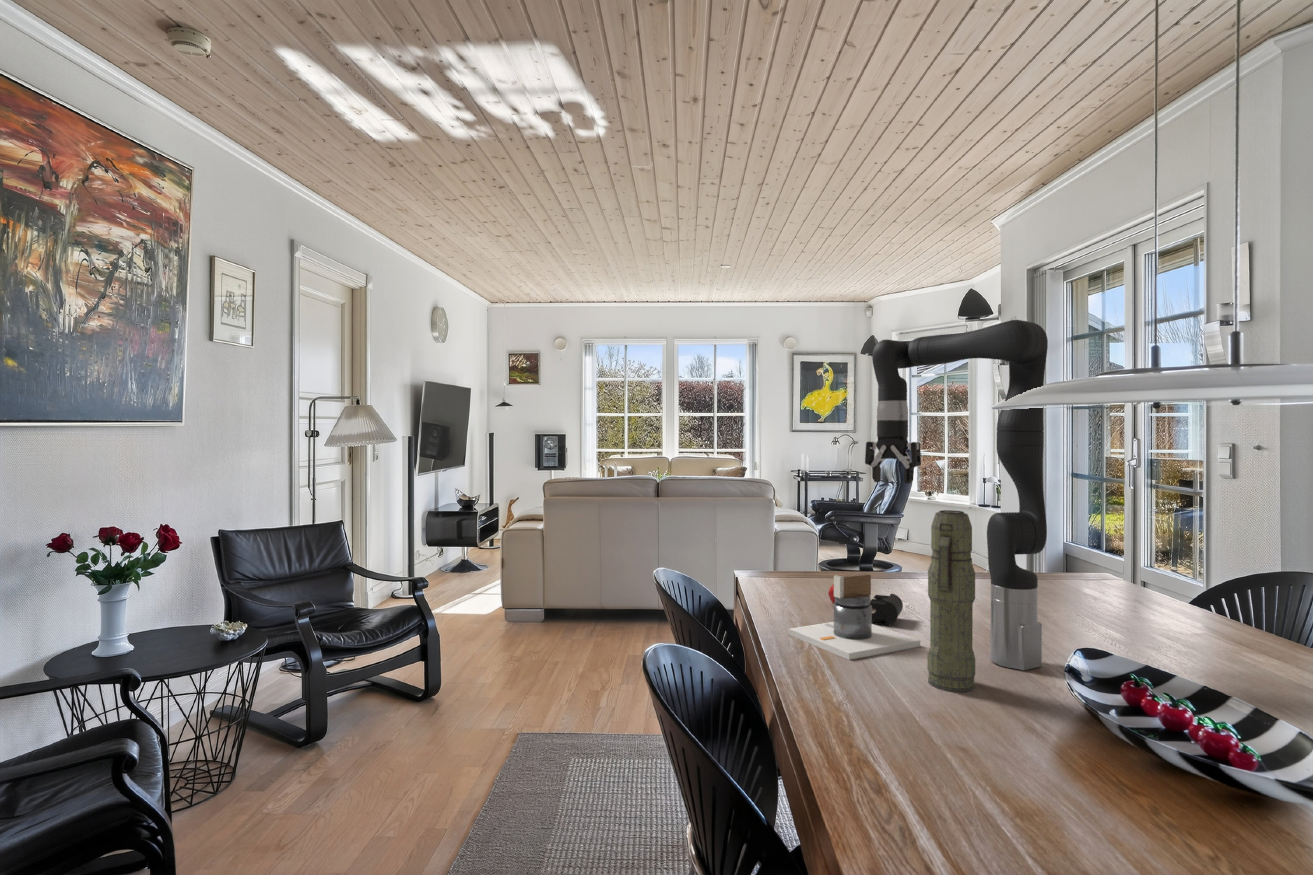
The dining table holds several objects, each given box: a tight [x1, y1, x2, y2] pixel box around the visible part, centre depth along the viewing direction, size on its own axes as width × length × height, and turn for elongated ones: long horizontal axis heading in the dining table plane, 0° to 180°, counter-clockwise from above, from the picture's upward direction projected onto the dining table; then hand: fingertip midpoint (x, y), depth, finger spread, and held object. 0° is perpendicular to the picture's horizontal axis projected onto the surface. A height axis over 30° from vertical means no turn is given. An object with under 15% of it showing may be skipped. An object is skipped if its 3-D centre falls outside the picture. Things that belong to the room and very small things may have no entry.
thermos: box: [926, 509, 976, 693], centre depth 143 cm, size 9×12×35 cm
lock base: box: [788, 603, 921, 661], centre depth 173 cm, size 22×22×9 cm
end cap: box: [871, 593, 904, 627], centre depth 190 cm, size 10×7×7 cm
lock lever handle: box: [833, 572, 872, 608], centre depth 173 cm, size 9×8×7 cm
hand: (892, 482), depth 180 cm, fingers open, 8 cm apart
